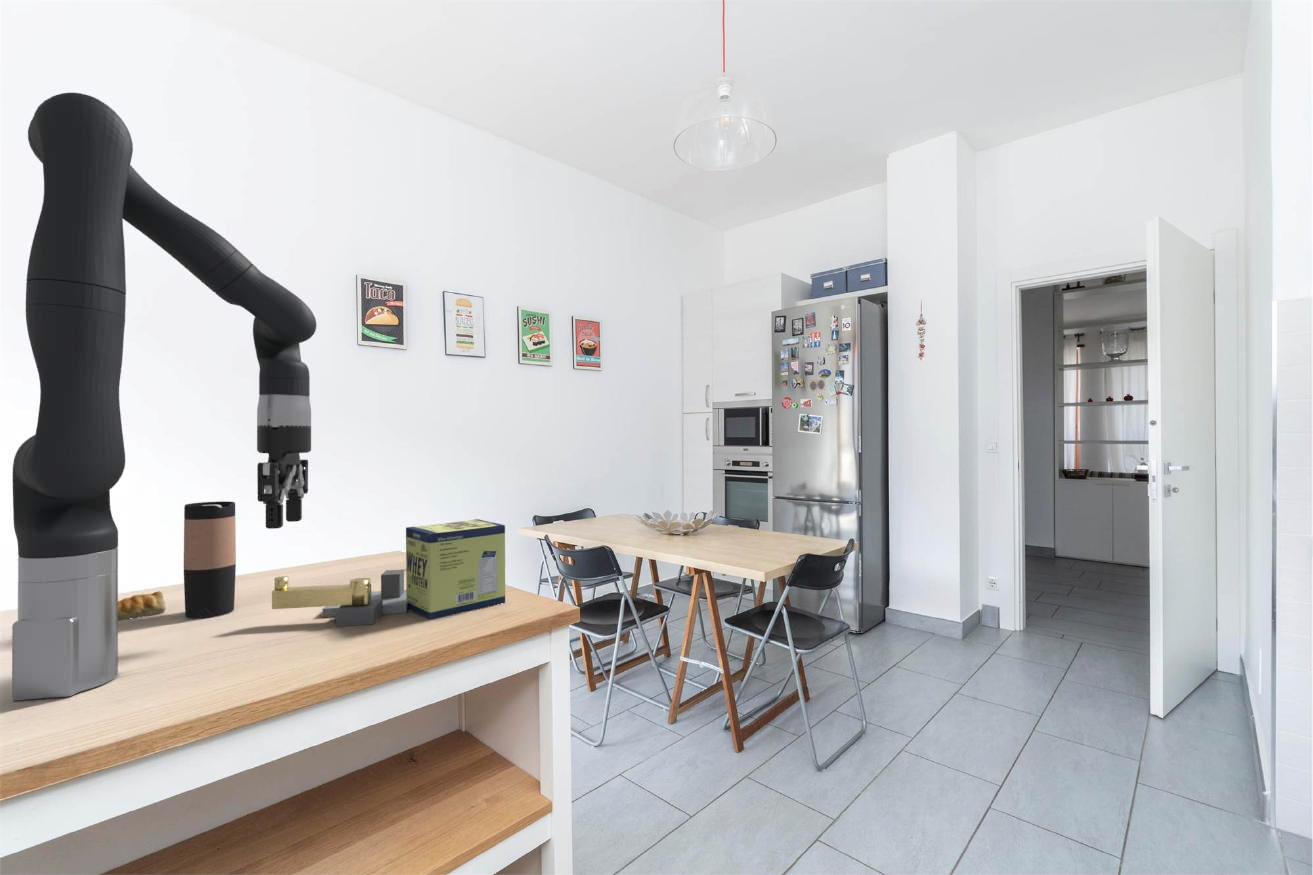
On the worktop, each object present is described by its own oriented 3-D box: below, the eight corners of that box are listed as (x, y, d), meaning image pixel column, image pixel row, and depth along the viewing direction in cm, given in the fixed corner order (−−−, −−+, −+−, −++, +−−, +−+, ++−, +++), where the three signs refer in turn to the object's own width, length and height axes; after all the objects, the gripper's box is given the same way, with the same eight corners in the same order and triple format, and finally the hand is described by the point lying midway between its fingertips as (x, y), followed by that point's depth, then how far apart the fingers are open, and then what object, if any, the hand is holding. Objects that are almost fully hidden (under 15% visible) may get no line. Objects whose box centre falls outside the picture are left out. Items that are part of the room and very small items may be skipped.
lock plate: (398, 622, 103) (398, 587, 103) (310, 627, 100) (310, 592, 100) (417, 596, 119) (417, 566, 119) (342, 600, 117) (342, 570, 117)
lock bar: (372, 599, 106) (372, 571, 106) (367, 604, 103) (367, 575, 103) (278, 604, 103) (278, 575, 103) (270, 609, 100) (271, 580, 100)
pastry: (99, 626, 101) (99, 604, 101) (92, 619, 106) (92, 598, 106) (168, 613, 109) (168, 593, 109) (159, 607, 113) (159, 587, 113)
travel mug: (190, 609, 110) (190, 502, 110) (239, 605, 113) (240, 500, 114) (177, 621, 103) (177, 506, 103) (230, 615, 107) (230, 504, 107)
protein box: (404, 609, 111) (404, 526, 111) (479, 593, 123) (479, 518, 122) (429, 621, 104) (429, 533, 104) (507, 603, 115) (507, 523, 115)
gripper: (277, 424, 103) (277, 519, 103) (237, 422, 89) (237, 532, 89) (324, 425, 105) (324, 518, 105) (292, 422, 91) (292, 530, 91)
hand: (284, 524), depth 97 cm, fingers open, 7 cm apart
